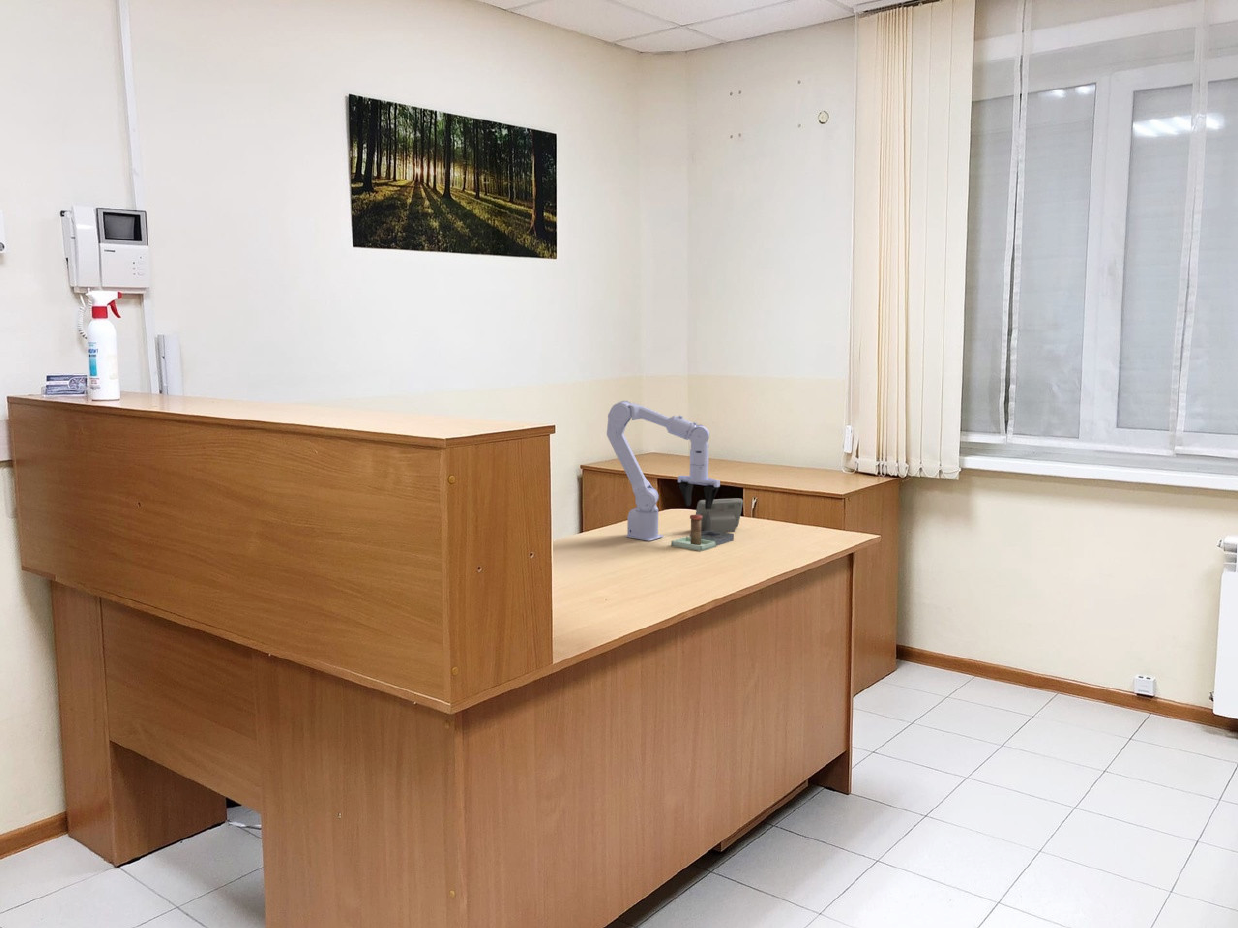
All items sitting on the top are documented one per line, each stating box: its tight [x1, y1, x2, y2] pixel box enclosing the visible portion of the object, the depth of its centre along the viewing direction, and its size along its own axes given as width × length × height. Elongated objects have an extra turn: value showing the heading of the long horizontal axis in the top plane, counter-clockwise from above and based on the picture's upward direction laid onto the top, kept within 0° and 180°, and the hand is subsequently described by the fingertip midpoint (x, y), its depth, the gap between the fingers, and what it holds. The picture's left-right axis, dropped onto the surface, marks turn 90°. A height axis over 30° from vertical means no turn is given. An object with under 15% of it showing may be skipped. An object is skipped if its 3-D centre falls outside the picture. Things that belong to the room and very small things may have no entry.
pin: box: [689, 514, 702, 545], centre depth 303 cm, size 4×4×9 cm
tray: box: [671, 536, 717, 552], centre depth 303 cm, size 11×8×2 cm
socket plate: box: [689, 530, 735, 547], centre depth 310 cm, size 10×10×2 cm
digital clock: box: [695, 497, 744, 533], centre depth 325 cm, size 16×9×11 cm, turn 97°
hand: (698, 507), depth 310 cm, fingers open, 7 cm apart
